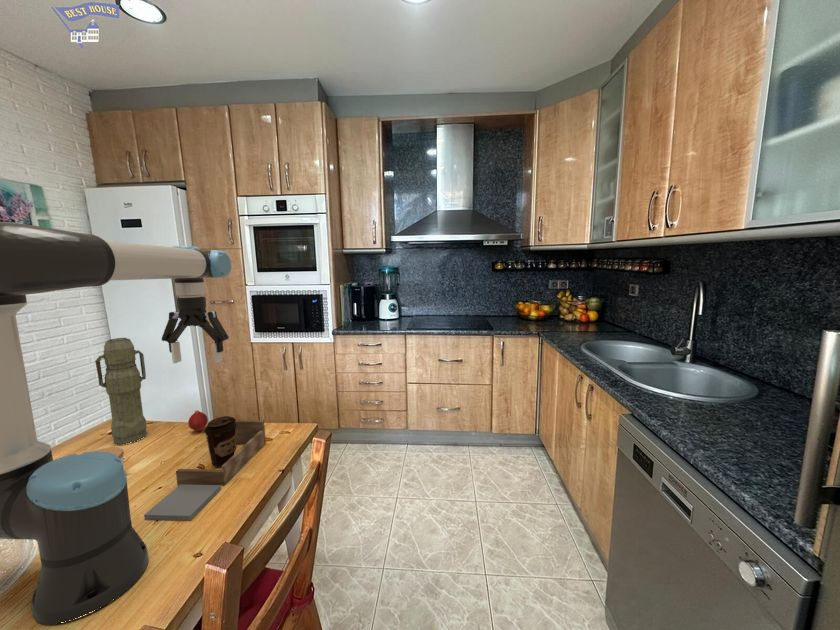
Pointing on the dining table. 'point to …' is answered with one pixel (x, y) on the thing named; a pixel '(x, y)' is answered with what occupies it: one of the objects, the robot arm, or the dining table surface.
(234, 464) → the u-shaped wooden frame
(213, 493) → the slate pad
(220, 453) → the coffee cup
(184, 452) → the dining table surface
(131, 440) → the thermos
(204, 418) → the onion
